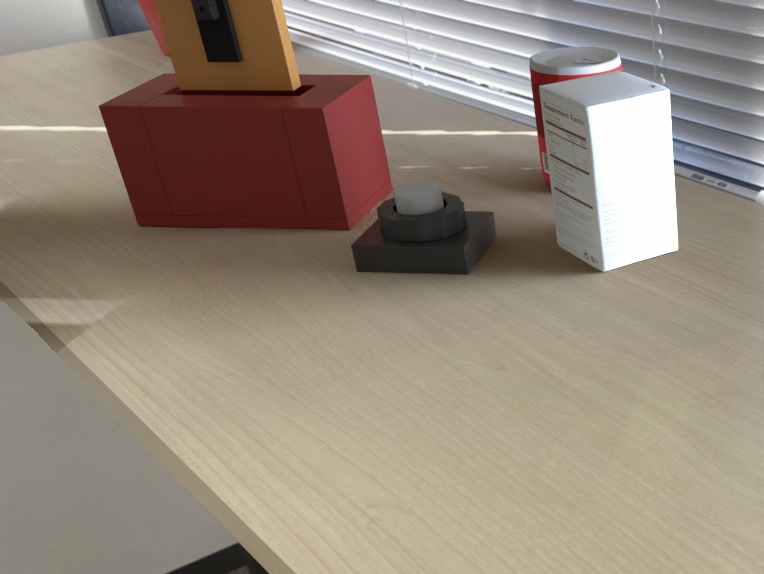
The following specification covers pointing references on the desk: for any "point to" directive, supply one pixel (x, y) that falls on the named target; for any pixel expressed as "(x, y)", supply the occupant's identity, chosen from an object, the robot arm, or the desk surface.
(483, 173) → the desk surface
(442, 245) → the button block
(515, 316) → the desk surface
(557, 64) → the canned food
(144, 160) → the toaster
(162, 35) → the flower pot
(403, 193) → the button
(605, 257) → the white packaging box
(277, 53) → the toast
